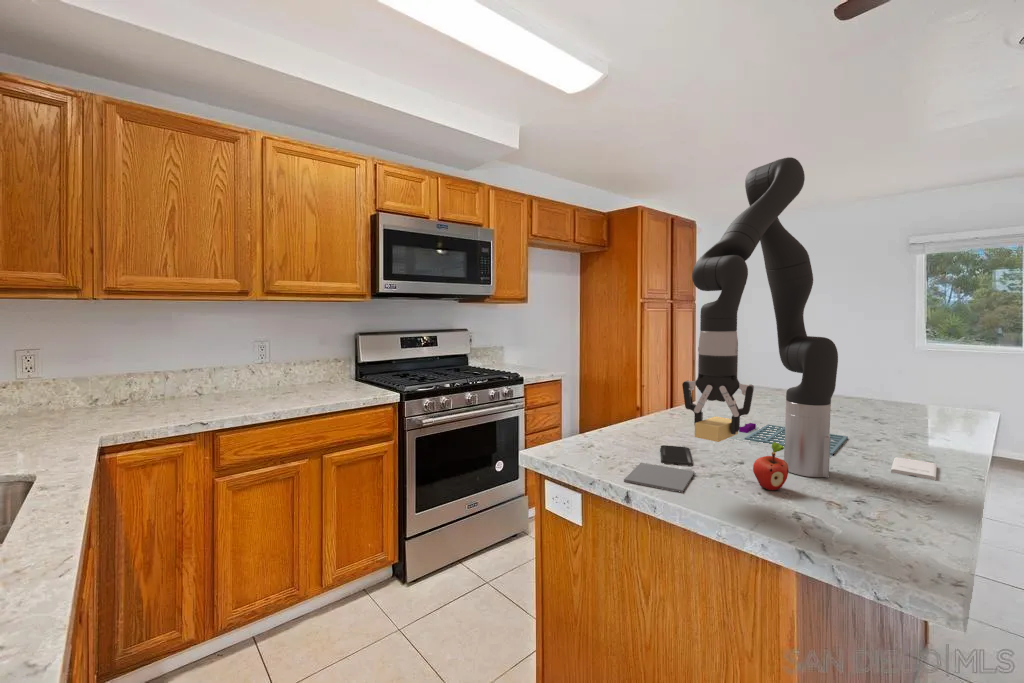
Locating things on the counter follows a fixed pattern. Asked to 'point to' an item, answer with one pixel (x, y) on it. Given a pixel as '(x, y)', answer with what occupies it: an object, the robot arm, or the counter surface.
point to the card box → (714, 429)
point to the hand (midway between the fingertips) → (716, 431)
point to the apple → (771, 470)
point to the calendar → (752, 432)
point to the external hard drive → (914, 468)
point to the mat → (660, 477)
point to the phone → (675, 455)
